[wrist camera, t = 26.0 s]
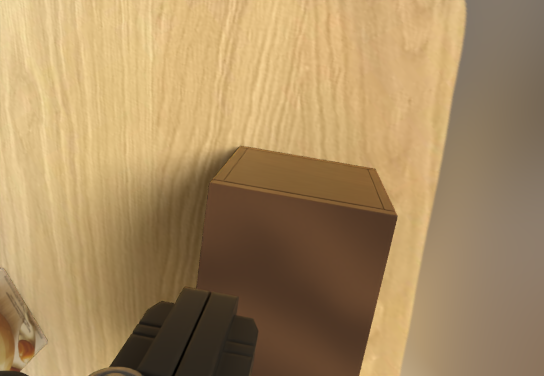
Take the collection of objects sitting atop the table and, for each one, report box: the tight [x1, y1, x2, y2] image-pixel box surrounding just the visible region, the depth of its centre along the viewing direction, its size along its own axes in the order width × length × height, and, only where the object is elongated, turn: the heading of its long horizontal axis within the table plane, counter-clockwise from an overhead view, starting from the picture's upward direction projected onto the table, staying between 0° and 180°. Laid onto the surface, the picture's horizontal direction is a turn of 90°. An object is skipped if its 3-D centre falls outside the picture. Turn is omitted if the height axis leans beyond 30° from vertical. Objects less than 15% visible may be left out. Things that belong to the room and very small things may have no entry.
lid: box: [196, 180, 398, 376], centre depth 30 cm, size 14×11×1 cm
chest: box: [212, 146, 395, 212], centre depth 36 cm, size 13×11×11 cm
